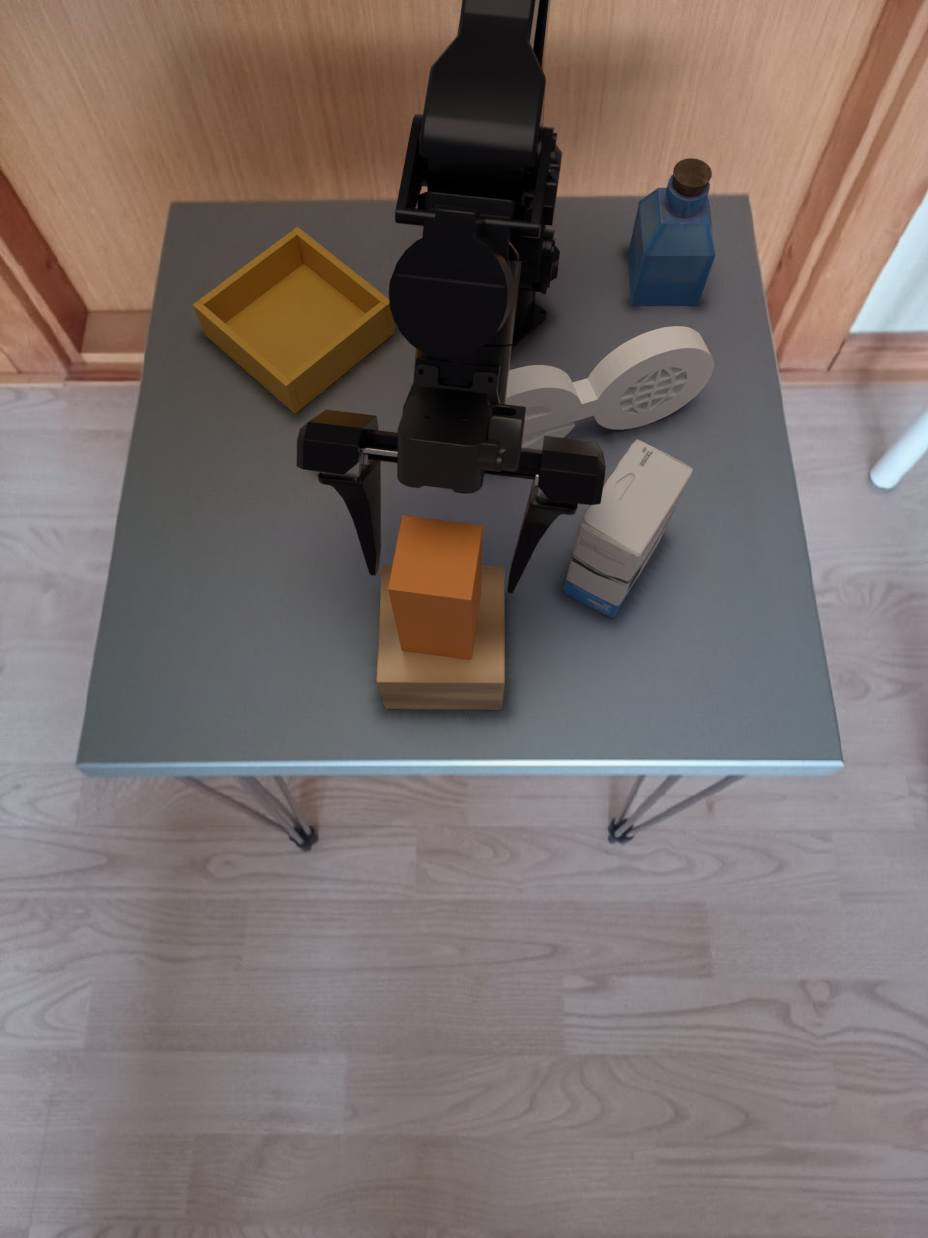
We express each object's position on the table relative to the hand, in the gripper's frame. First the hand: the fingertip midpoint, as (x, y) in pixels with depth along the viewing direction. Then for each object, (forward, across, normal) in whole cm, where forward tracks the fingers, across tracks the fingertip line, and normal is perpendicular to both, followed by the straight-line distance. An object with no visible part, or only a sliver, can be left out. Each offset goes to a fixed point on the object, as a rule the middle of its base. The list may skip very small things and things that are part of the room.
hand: (441, 582), depth 58 cm
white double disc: (-6, +8, +23) cm, 26 cm away
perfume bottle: (-19, +15, +36) cm, 43 cm away
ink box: (+2, +12, +15) cm, 19 cm away
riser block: (+9, 0, +8) cm, 12 cm away
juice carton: (+4, 0, +3) cm, 5 cm away
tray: (-12, -18, +28) cm, 35 cm away
